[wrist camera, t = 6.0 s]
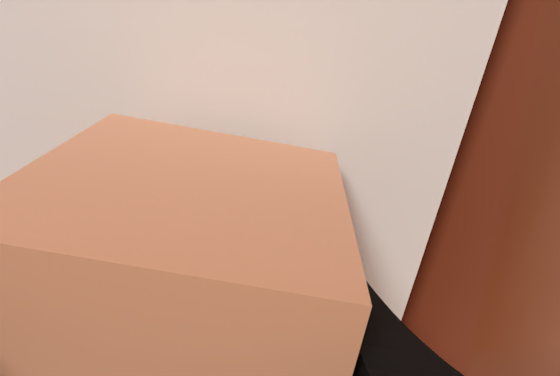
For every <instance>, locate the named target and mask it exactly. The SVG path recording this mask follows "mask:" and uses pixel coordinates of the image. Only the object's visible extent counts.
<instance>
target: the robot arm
mask: <svg viewBox="0 0 560 376" xmlns="http://www.w3.org/2000/svg"><path fill="white" fill-rule="evenodd" d="M366 282H367V281H366ZM367 287H368V291H369V295H370V299H371V303H372V309H371V312H370V316H369V319H368V323H367V326H366V330H365V333H364V337H363V340H362V344H361V347H360V351H359V354H358V358H357V361H356V364H355V368H354V371H353V375H352V376H464V375H462V374H461V373H460V372H458V371H457V370H456V369H454V368H453V367H452V366H450V365H449V364H448V363H447V362H445V361H444V360H443V359H442V358H440V357H439V356H438V355H437V354H436V353H435V352H433V351H432V350H431V349H430V348H429V347H428V346H427V345H425V344H424V343H423V342H422V341H421V340H420V339H419V338H418V337H417V336H416V335H414V334H413V333H412V332H411V331H410V330H409V329H408V328H407V327H406V326H405V325H404V323H403V322H402V321H401V320H400V319H399V318H398V317H397V316H396V315H395V314H394V313H393V312H392V311H391V310H390V309H389V307H388V306H387V305H386V304H385V303H384V302H383V301H382V299H381V298H380V297H379V296H378V295H377V293H376V292H375V291H374V290H373V288H372V287H371V286H370V285H369V283H368V282H367Z"/></svg>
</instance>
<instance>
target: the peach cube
mask: <svg viewBox="0 0 560 376" xmlns="http://www.w3.org/2000/svg"><path fill="white" fill-rule="evenodd" d="M371 309H372V303H371V299H370V295H369V291H368V287H367V282H366V278H365V274H364V270H363V266H362V261H361V257H360V253H359V249H358V244H357V240H356V236H355V232H354V228H353V223H352V219H351V215H350V211H349V207H348V202H347V198H346V194H345V190H344V186H343V181H342V177H341V173H340V169H339V165H338V160H337V156H336V153H332V152H326V151H321V150H315V149H310V148H304V147H298V146H293V145H287V144H281V143H276V142H270V141H265V140H259V139H253V138H248V137H242V136H236V135H231V134H225V133H220V132H214V131H208V130H203V129H197V128H192V127H186V126H180V125H175V124H169V123H163V122H158V121H152V120H147V119H141V118H135V117H130V116H124V115H119V114H113V113H112V114H110V115H108V116H107V117H105V118H103V119H102V120H100V121H98V122H97V123H95V124H93V125H92V126H90V127H88V128H87V129H85V130H84V131H82V132H80V133H79V134H77V135H75V136H74V137H72V138H70V139H69V140H67V141H65V142H64V143H62V144H60V145H59V146H57V147H56V148H54V149H52V150H51V151H49V152H47V153H46V154H44V155H42V156H41V157H39V158H37V159H36V160H34V161H33V162H31V163H29V164H28V165H26V166H24V167H23V168H21V169H19V170H18V171H16V172H14V173H13V174H11V175H9V176H8V177H6V178H5V179H3V180H1V181H0V376H352V375H353V371H354V368H355V364H356V361H357V358H358V354H359V351H360V347H361V344H362V340H363V337H364V333H365V330H366V326H367V323H368V319H369V316H370V312H371Z"/></svg>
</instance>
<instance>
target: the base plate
mask: <svg viewBox="0 0 560 376" xmlns="http://www.w3.org/2000/svg"><path fill="white" fill-rule="evenodd" d="M507 2H508V0H0V181H1V180H3V179H5V178H6V177H8V176H9V175H11V174H13V173H14V172H16V171H18V170H19V169H21V168H23V167H24V166H26V165H28V164H29V163H31V162H33V161H34V160H36V159H37V158H39V157H41V156H42V155H44V154H46V153H47V152H49V151H51V150H52V149H54V148H56V147H57V146H59V145H60V144H62V143H64V142H65V141H67V140H69V139H70V138H72V137H74V136H75V135H77V134H79V133H80V132H82V131H84V130H85V129H87V128H88V127H90V126H92V125H93V124H95V123H97V122H98V121H100V120H102V119H103V118H105V117H107V116H108V115H110V114H112V113H113V114H119V115H124V116H130V117H135V118H141V119H147V120H152V121H158V122H163V123H169V124H175V125H180V126H186V127H192V128H197V129H203V130H208V131H214V132H220V133H225V134H231V135H236V136H242V137H248V138H253V139H259V140H265V141H270V142H276V143H281V144H287V145H293V146H298V147H304V148H310V149H315V150H321V151H326V152H332V153H336V156H337V160H338V165H339V169H340V173H341V177H342V181H343V186H344V190H345V194H346V198H347V202H348V207H349V211H350V215H351V219H352V223H353V228H354V232H355V236H356V240H357V244H358V249H359V253H360V257H361V261H362V266H363V270H364V274H365V278H366V281H367V282H368V283H369V285H370V286H371V287H372V288H373V290H374V291H375V292H376V293H377V295H378V296H379V297H380V298H381V299H382V301H383V302H384V303H385V304H386V305H387V306H388V307H389V309H390V310H391V311H392V312H393V313H394V314H395V315H396V316H397V317H398V318H399V319H400V320H402V317H403V314H404V311H405V308H406V305H407V302H408V299H409V296H410V293H411V290H412V287H413V284H414V281H415V278H416V275H417V272H418V269H419V266H420V263H421V260H422V257H423V254H424V251H425V248H426V245H427V242H428V239H429V236H430V233H431V230H432V227H433V224H434V221H435V218H436V215H437V212H438V209H439V206H440V203H441V200H442V197H443V194H444V191H445V188H446V185H447V182H448V179H449V176H450V173H451V170H452V167H453V164H454V161H455V158H456V155H457V152H458V149H459V146H460V143H461V140H462V137H463V134H464V131H465V128H466V125H467V122H468V119H469V116H470V113H471V110H472V107H473V104H474V101H475V98H476V95H477V92H478V89H479V86H480V83H481V80H482V77H483V74H484V71H485V68H486V65H487V62H488V59H489V56H490V53H491V50H492V47H493V44H494V41H495V38H496V35H497V32H498V29H499V26H500V23H501V20H502V17H503V14H504V11H505V8H506V5H507Z"/></svg>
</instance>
